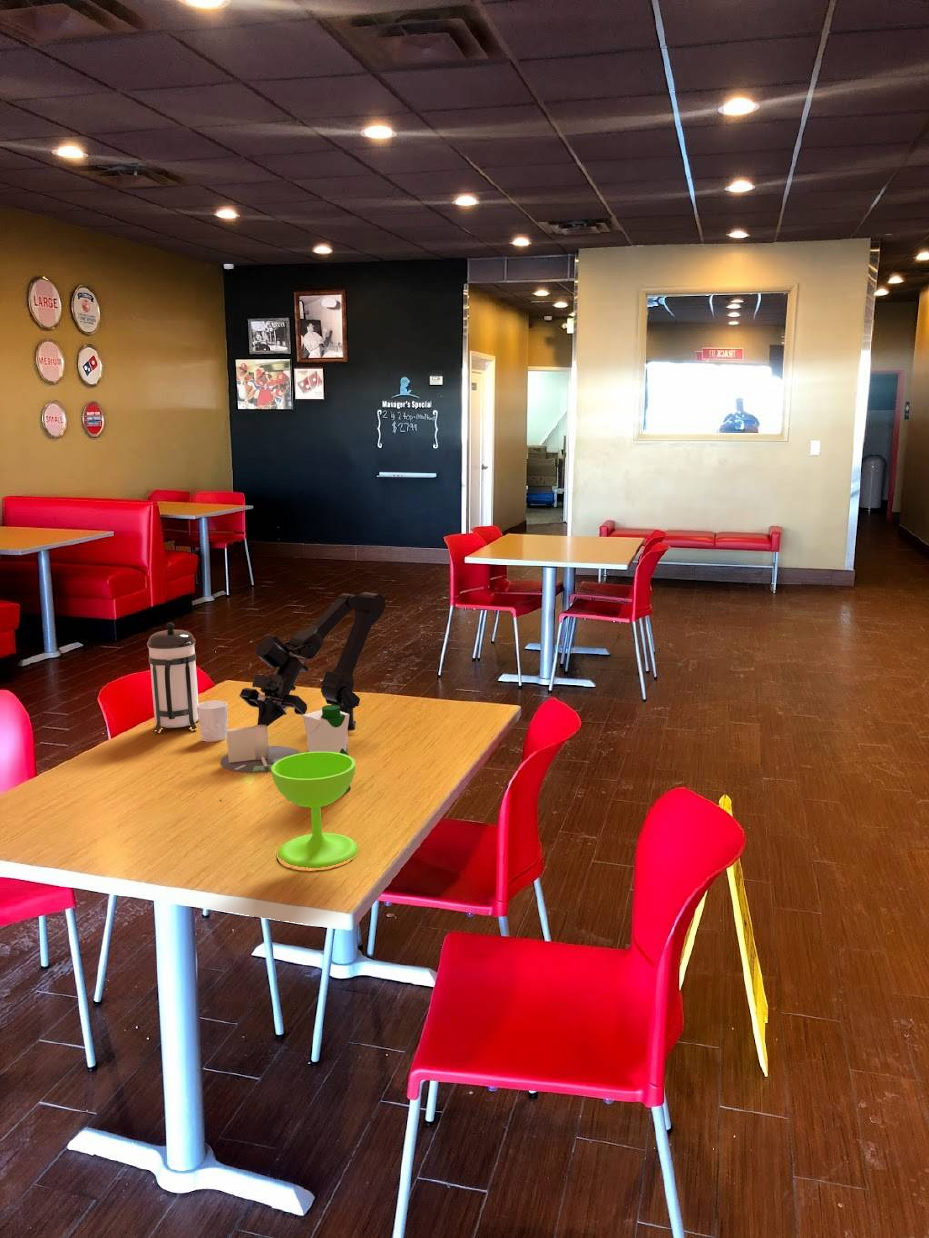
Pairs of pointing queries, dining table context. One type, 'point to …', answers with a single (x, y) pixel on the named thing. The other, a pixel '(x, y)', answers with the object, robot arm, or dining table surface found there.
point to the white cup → (213, 720)
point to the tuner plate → (259, 761)
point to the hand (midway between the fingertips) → (259, 730)
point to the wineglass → (315, 805)
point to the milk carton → (327, 730)
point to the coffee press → (173, 678)
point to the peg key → (248, 744)
